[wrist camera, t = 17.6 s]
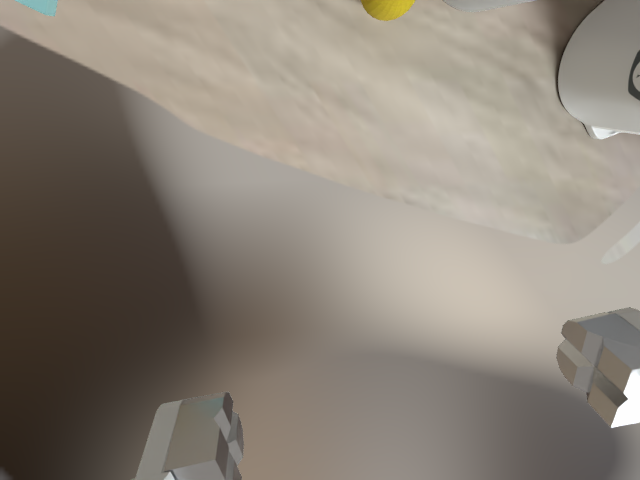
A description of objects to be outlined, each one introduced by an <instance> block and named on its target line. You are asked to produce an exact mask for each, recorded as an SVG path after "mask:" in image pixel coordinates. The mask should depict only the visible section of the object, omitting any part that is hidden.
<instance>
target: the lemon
mask: <svg viewBox="0 0 640 480" xmlns="http://www.w3.org/2000/svg"><path fill="white" fill-rule="evenodd" d="M361 2H362V5H363V7H364V9H365V10H366V11H367V13H368V14H370V15H371V16H372V17H374V18H376V19H378V20H384V21H388V20H393V19H396V18H398V17H400V16H402V15H403V14H404V13H406V12H407V11H408V10H409V9H410V7H411V6H412V5H413V3H414V2H415V0H361Z"/></svg>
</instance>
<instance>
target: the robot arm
mask: <svg viewBox="0 0 640 480" xmlns="http://www.w3.org/2000/svg"><path fill="white" fill-rule="evenodd" d="M558 89H559V95H560V98H561V101H562V103H563V105H564V107H565V109H566V110H567V111H568V112H569V113H570V114H571V115H572V116H573V117H575V118H576V119H578V120H580V121H581V122H582V123H583V124H584V125H585V127H586V129H587V131H588V133H589V135H590V136H591V137H592V138H594V139H605V138H607V137H610V136H613V135H615V134H618V133H620V132H625V133H632V134H639V135H640V0H604V1H603V2H602V3H601V4H600V5H599V6H598V7H597V8H595V9H594V10H593V11H592V12H591V13H590V14H589V15H588V16H587V17H586V18H585V19H584V20H583V21H582V23H581V24H580V25H579V26H578V28H577V29H576V31H575V32H574V34H573V35H572V37H571V39H570V41H569V42H568V45H567V47H566V49H565V51H564V54H563V57H562V60H561V64H560V68H559V75H558ZM561 333H562V335H563V336H564V337H565V340H564V341H563V342H562V343H561V344H560V345H559V346H558V351H557V361H558V365H559V368H560V370H561V372H562V373H563V375H564V377H565V378H566V379H567V380H568V381H569V382H570V383H571V384H572V386H574V387H576V388H578V389H580V390H582V391H584V392H586V395H587V402H588V403H589V404H590V405H591V407H592V408H593V409H594V410H595V411H596V412H597V413H598V414H599V415H600V416H601V417H602V418H603V419H604V421H605V422H606V423H607V424H608V425H609V426H610V427H611V428H612V427H617V426H622V425H627V424H633V423H638V422H640V311H638V310H636V309H633V308H630V307H629V308H624V309H619V310H615V311H610V312H607V313H605V312H604V313H600V314H595V315H591V316H587V317H581V318H577V319H572V320H568V321H567V322H566V323H565V324H564V325H563V328H562V332H561ZM232 409H233V400H232V398H231V396H230V393H229V392H223V393H218V394H212V395H207V396H201V397H196V398H191V399H185V400H181V401H176V402H170V403H165V404H161V406H160V407H159V408H158V410H157V412H156V415H155V418H154V421H153V424H152V427H151V430H150V434H149V437H148V440H147V443H146V447H145V449H144V453H143V456H142V459H141V462H140V465H139V468H138V472H137V475H136V478H135V479H131V480H242V476H241V474H240V472H239V470H238V467H237V465H238V464H239V463H240V461H241V459H242V458H243V449H244V441H243V429H242V425H241V421H240V418H239V415H238V414H237V413H235V412H233V411H232Z"/></svg>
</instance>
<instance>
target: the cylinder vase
mask: <svg viewBox="0 0 640 480" xmlns="http://www.w3.org/2000/svg"><path fill="white" fill-rule="evenodd" d="M443 1H444V2H445V3H447V4H448V5H450V6H451V7H453V8H455V9H458V10H461V11H466V12H479V11H485V10H490V9H495V8H500V7H505V6H510V5H515V4H520V3H525V2H530V1H535V0H443Z"/></svg>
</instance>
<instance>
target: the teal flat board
mask: <svg viewBox="0 0 640 480" xmlns="http://www.w3.org/2000/svg"><path fill="white" fill-rule="evenodd" d="M15 1H17V2H19V3H21V4H24V5H26V6H28V7H30V8H32V9H34V10H36V11H38V12H40V13H43V14H45V15H49V16H55V13H56V7H57V1H58V0H15Z"/></svg>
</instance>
